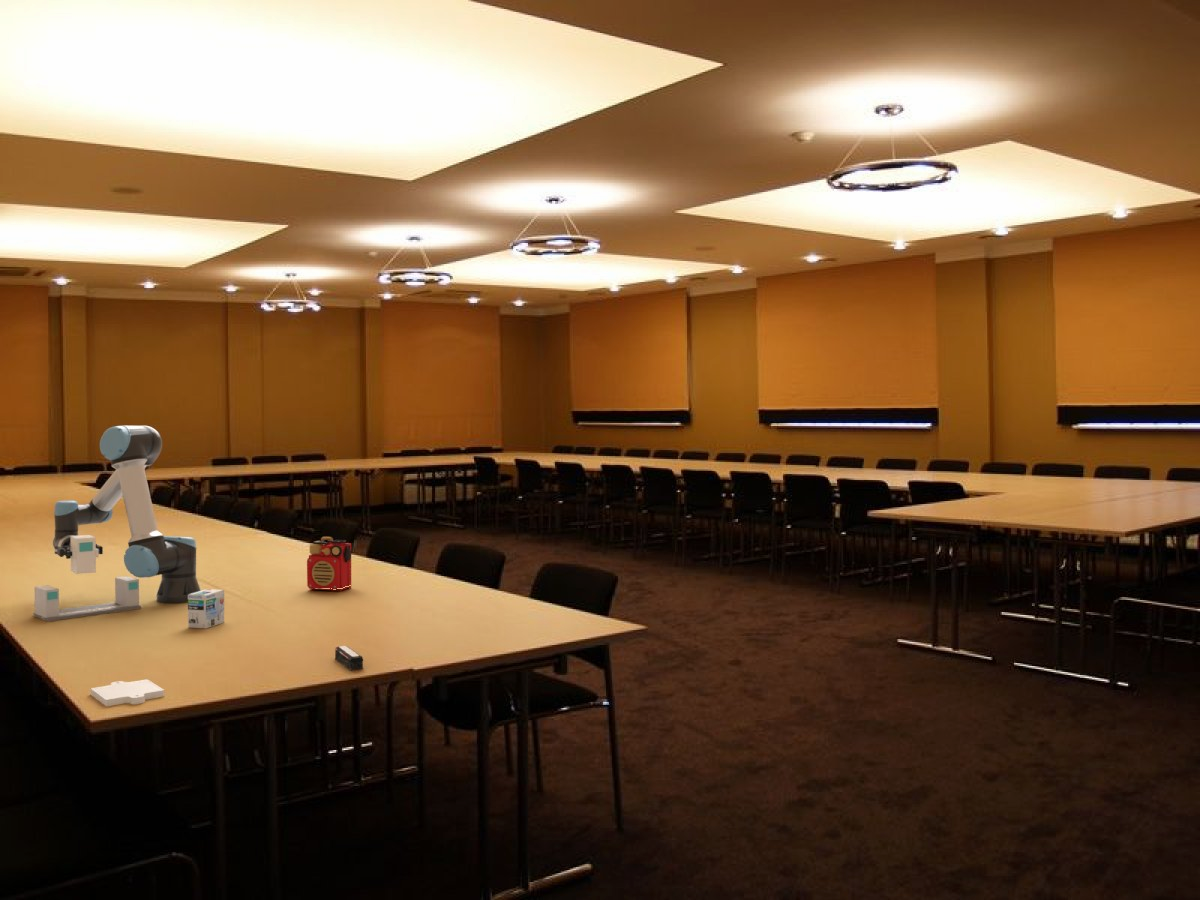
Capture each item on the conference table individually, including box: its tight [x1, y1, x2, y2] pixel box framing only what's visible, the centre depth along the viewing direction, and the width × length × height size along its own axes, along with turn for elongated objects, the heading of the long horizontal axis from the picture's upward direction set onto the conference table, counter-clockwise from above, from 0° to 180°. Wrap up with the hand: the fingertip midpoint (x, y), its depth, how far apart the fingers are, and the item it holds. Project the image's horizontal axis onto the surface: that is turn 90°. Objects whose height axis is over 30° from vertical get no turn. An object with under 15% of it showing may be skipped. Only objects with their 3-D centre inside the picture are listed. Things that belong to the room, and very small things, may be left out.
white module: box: [70, 534, 97, 575], centre depth 341 cm, size 6×9×12 cm, turn 39°
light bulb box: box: [187, 588, 225, 629], centre depth 320 cm, size 11×7×11 cm, turn 168°
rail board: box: [32, 601, 142, 622], centre depth 339 cm, size 30×13×1 cm, turn 138°
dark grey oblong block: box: [334, 645, 364, 672], centre depth 273 cm, size 14×25×4 cm, turn 30°
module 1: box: [34, 584, 60, 618], centre depth 330 cm, size 4×10×9 cm, turn 48°
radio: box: [306, 536, 352, 592], centre depth 386 cm, size 16×10×20 cm, turn 76°
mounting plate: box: [90, 678, 165, 707], centre depth 239 cm, size 18×13×2 cm
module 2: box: [114, 575, 140, 607], centre depth 349 cm, size 4×10×9 cm, turn 48°
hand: (86, 554), depth 337 cm, fingers closed on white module, 6 cm apart
